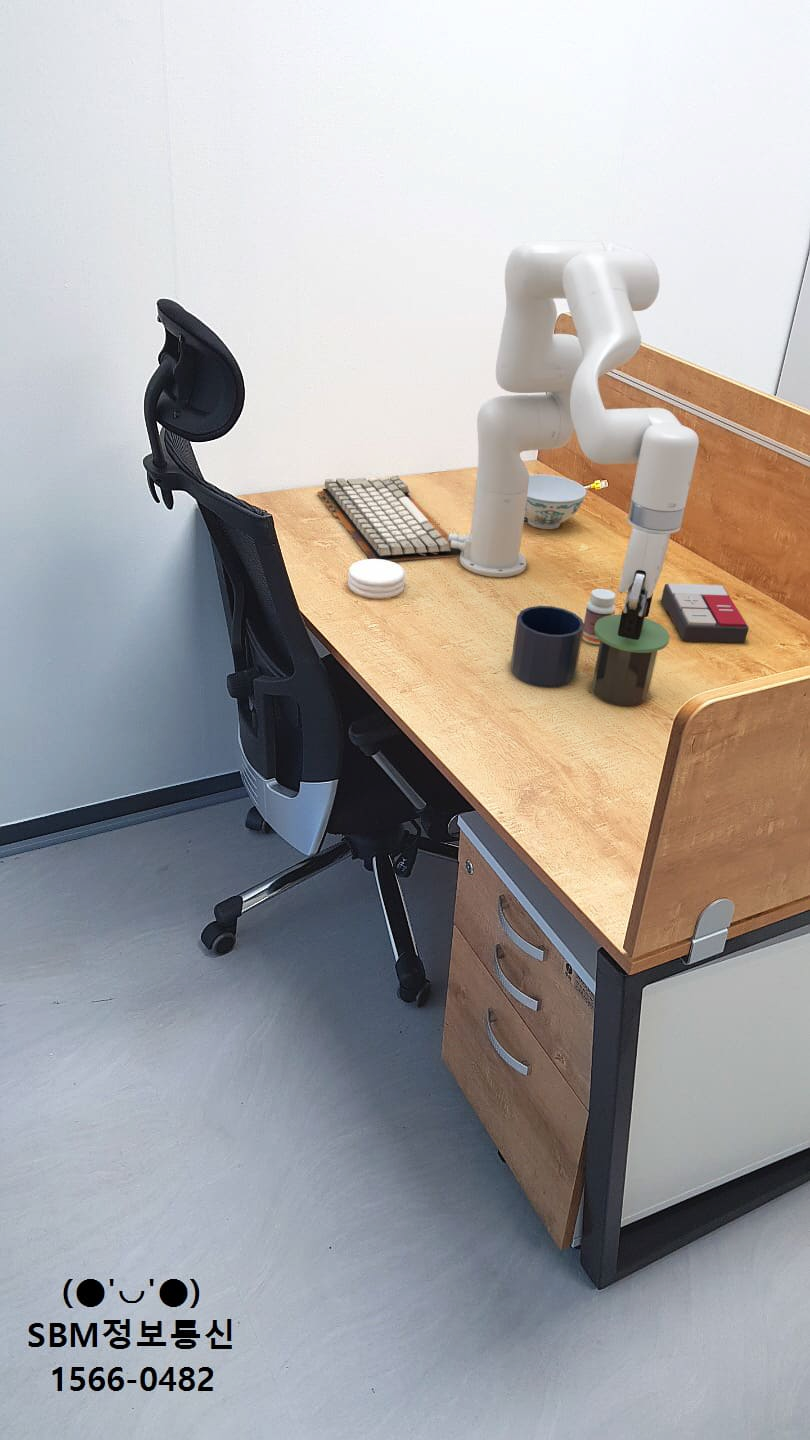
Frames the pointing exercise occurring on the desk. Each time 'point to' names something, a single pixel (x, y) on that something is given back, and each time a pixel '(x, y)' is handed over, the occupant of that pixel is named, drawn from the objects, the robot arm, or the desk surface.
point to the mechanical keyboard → (386, 519)
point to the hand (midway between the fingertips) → (633, 625)
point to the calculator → (704, 613)
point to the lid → (649, 640)
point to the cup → (622, 676)
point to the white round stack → (376, 578)
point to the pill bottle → (597, 612)
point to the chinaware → (552, 500)
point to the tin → (546, 646)
